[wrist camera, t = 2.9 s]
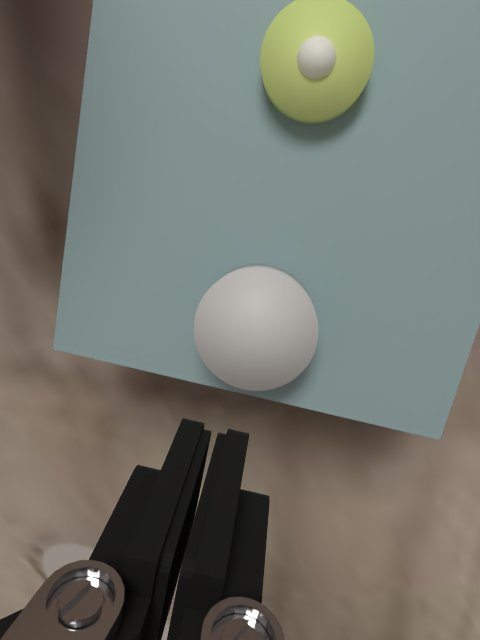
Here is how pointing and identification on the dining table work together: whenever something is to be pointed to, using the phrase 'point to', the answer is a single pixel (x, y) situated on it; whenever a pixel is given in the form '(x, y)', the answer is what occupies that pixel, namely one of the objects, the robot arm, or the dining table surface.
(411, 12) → the plate
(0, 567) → the dining table surface
